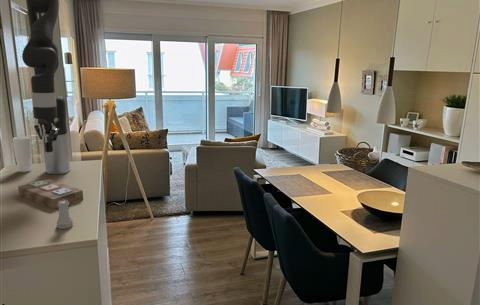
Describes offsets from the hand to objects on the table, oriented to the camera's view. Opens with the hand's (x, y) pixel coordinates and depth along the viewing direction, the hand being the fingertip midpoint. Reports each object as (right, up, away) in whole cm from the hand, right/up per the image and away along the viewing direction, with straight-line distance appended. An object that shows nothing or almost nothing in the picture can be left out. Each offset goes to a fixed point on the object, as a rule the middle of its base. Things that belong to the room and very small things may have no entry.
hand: (48, 151), depth 129 cm
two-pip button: (+9, -16, -7) cm, 20 cm away
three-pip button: (-3, -14, -1) cm, 14 cm away
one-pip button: (+3, -15, -4) cm, 16 cm away
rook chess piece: (+19, -22, -25) cm, 39 cm away
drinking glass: (-25, -9, +25) cm, 36 cm away
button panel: (+3, -16, -4) cm, 17 cm away
